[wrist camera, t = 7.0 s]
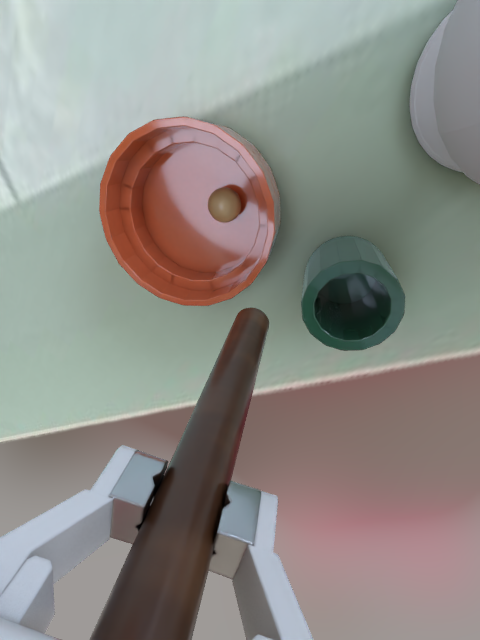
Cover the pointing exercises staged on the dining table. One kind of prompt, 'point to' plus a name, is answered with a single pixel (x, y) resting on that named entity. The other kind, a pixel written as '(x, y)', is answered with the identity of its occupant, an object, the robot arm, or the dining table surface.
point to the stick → (188, 503)
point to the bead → (224, 204)
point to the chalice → (450, 92)
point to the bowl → (188, 210)
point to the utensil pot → (351, 295)
